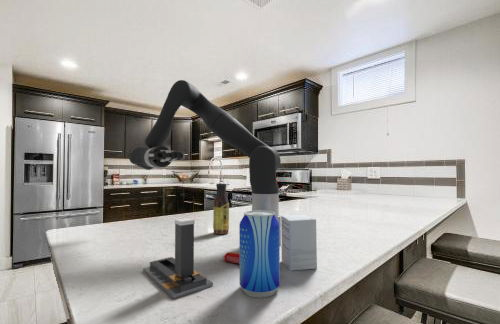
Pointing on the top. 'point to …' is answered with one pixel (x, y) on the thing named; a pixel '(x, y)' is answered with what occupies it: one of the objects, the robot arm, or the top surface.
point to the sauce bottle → (221, 211)
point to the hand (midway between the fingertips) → (178, 154)
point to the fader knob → (184, 248)
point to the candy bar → (232, 257)
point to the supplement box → (299, 242)
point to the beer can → (259, 253)
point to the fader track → (174, 278)
